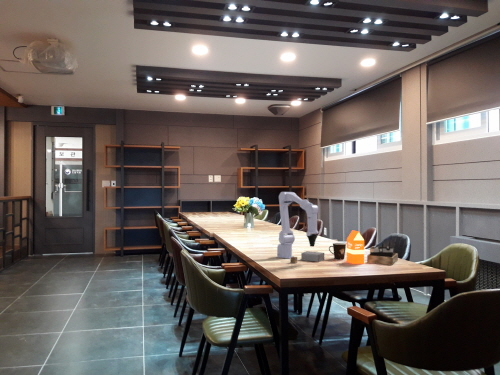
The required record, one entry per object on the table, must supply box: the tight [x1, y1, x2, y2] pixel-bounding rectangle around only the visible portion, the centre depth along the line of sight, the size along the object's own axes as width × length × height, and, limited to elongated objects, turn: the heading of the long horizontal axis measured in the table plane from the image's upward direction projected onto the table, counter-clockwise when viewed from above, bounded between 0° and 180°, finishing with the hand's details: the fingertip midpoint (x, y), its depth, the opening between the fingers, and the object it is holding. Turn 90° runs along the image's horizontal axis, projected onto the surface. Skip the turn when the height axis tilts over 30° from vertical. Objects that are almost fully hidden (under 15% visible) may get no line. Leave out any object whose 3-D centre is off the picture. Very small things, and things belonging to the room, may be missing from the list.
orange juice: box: [346, 229, 365, 265], centre depth 239 cm, size 8×9×20 cm
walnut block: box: [289, 256, 298, 264], centre depth 235 cm, size 3×3×4 cm
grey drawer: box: [301, 254, 319, 263], centre depth 246 cm, size 11×10×4 cm
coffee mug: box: [328, 242, 347, 261], centre depth 252 cm, size 12×9×10 cm
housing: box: [301, 250, 325, 263], centre depth 247 cm, size 12×10×4 cm
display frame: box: [366, 252, 399, 266], centre depth 244 cm, size 15×19×4 cm
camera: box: [369, 245, 394, 257], centre depth 243 cm, size 15×11×10 cm
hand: (312, 246), depth 235 cm, fingers closed
